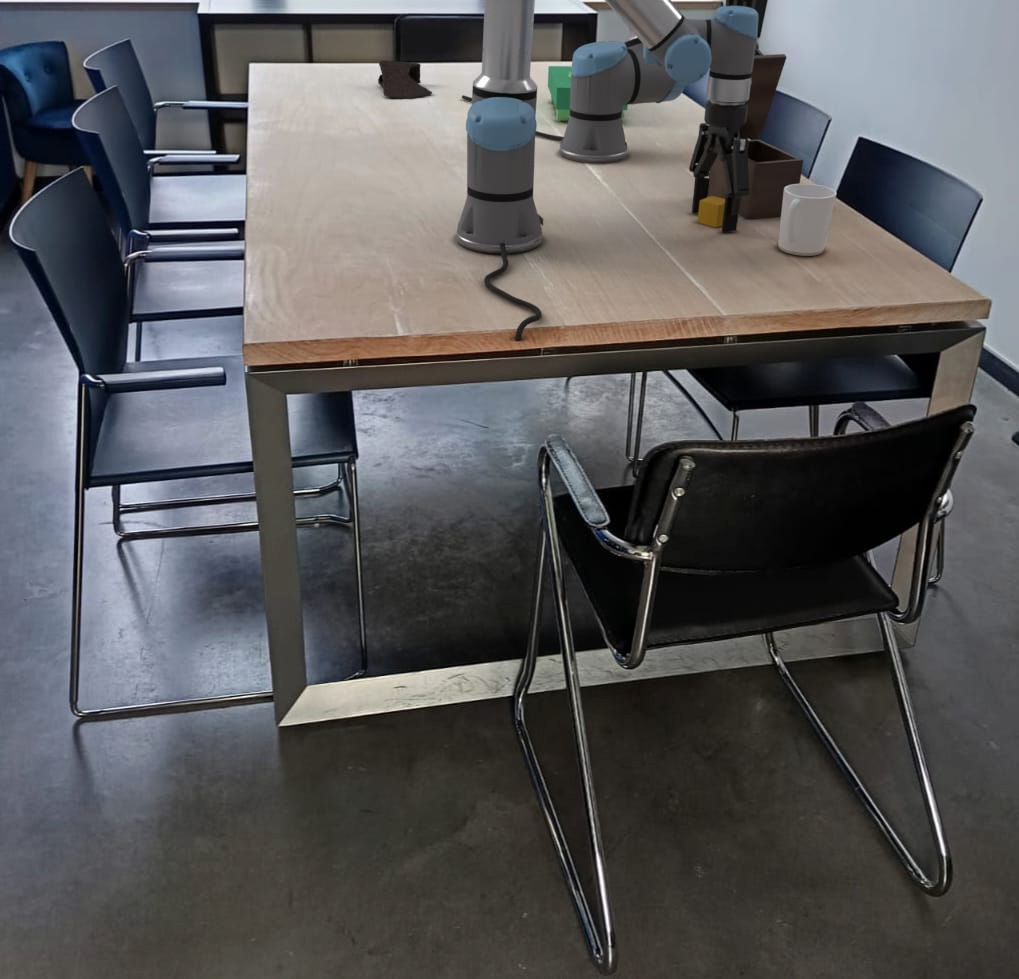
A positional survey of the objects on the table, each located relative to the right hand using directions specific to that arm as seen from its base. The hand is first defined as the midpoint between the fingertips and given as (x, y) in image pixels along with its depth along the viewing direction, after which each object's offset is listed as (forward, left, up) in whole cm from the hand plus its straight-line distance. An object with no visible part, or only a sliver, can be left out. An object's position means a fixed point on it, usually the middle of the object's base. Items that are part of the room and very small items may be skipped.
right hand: (736, 73), depth 214 cm
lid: (+6, -2, -4) cm, 7 cm away
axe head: (-115, -2, -23) cm, 117 cm away
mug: (+34, -18, -23) cm, 44 cm away
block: (+14, -18, -23) cm, 32 cm away
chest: (+10, -4, -23) cm, 25 cm away
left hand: (+14, -18, -23) cm, 32 cm away
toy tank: (-71, +25, -23) cm, 79 cm away
